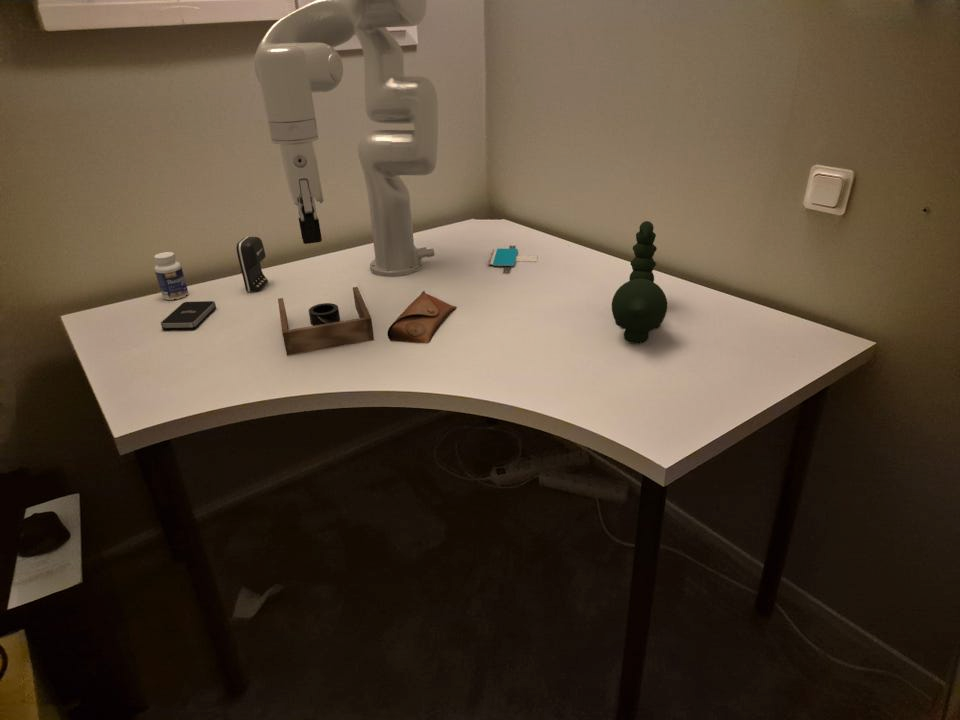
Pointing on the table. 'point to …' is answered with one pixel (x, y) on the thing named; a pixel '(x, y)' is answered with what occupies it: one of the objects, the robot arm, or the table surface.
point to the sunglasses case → (420, 320)
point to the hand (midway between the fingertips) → (312, 240)
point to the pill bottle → (170, 276)
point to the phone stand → (508, 258)
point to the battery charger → (251, 262)
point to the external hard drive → (188, 315)
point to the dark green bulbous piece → (640, 292)
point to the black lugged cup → (324, 314)
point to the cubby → (328, 330)
